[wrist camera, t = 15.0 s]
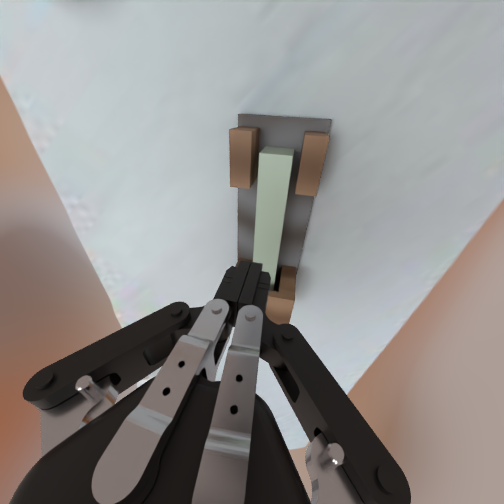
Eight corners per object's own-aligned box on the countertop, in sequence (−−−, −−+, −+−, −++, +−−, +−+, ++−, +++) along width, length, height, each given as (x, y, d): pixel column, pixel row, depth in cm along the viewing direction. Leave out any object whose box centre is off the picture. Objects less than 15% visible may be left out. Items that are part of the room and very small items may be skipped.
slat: (266, 146, 22) (259, 152, 19) (294, 148, 21) (293, 155, 18) (255, 283, 33) (250, 302, 30) (274, 286, 33) (270, 305, 30)
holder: (240, 113, 21) (215, 116, 15) (330, 119, 20) (341, 125, 14) (239, 281, 35) (225, 317, 29) (291, 291, 34) (289, 330, 28)
